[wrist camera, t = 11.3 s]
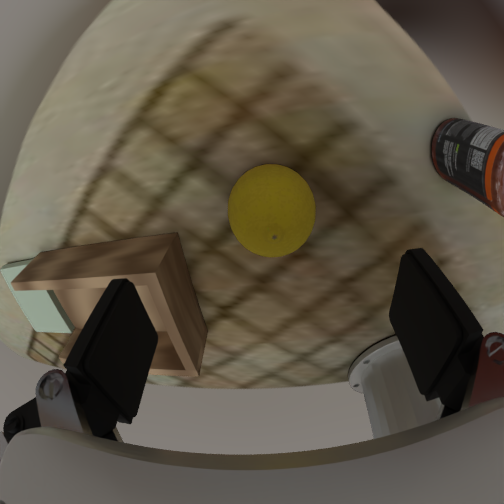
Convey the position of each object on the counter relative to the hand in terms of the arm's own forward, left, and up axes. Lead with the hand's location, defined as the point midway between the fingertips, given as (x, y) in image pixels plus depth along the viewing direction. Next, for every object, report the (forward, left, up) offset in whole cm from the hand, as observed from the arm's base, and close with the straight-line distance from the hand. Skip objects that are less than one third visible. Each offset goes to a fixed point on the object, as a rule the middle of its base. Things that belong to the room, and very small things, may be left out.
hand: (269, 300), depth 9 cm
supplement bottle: (-13, -12, -14) cm, 22 cm away
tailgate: (+16, +23, -13) cm, 31 cm away
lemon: (-1, 0, -14) cm, 14 cm away
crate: (+8, +17, -14) cm, 23 cm away
